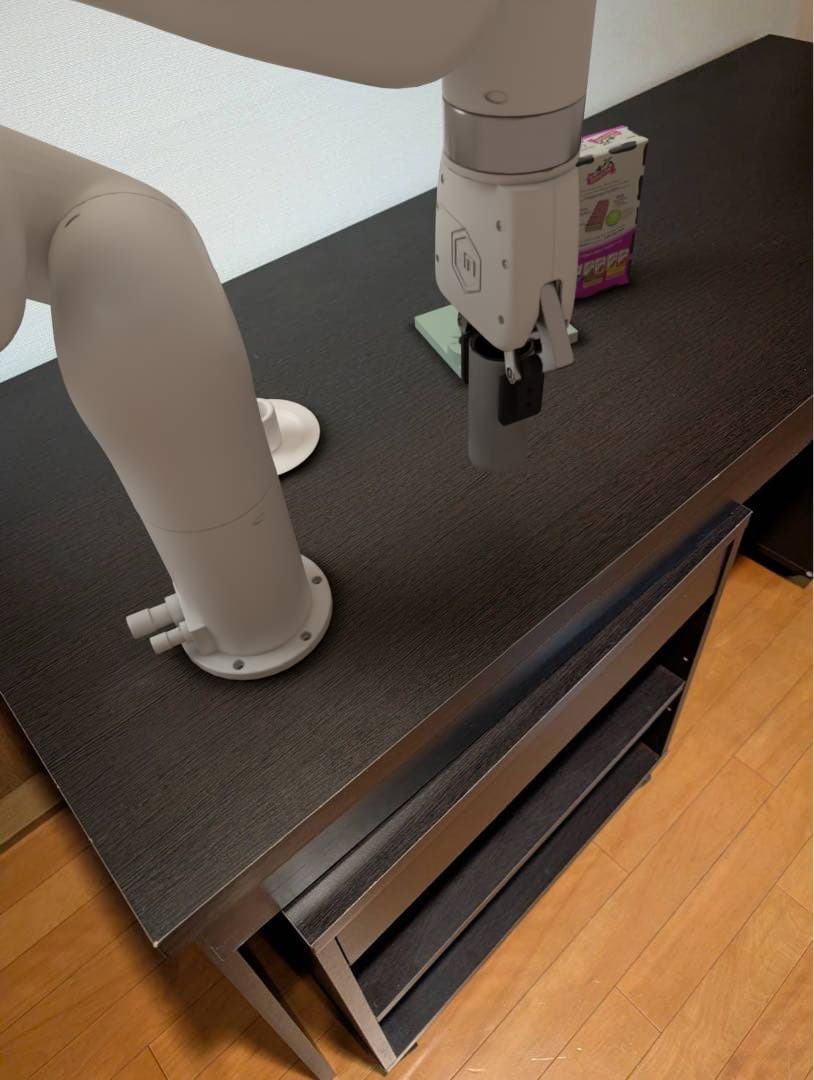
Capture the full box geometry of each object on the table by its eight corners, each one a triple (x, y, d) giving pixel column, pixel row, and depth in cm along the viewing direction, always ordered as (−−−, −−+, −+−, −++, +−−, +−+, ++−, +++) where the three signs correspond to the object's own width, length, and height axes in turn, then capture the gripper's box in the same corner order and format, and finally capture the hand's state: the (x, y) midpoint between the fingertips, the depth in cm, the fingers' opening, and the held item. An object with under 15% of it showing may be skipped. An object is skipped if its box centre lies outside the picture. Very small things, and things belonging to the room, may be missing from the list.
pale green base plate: (463, 385, 80) (462, 361, 78) (412, 328, 88) (411, 304, 85) (578, 343, 83) (581, 319, 81) (520, 291, 91) (521, 268, 89)
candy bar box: (605, 265, 93) (624, 122, 81) (629, 284, 90) (652, 138, 78) (525, 291, 91) (531, 148, 78) (547, 312, 88) (557, 166, 75)
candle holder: (189, 428, 79) (176, 394, 76) (298, 391, 81) (290, 358, 78) (219, 502, 71) (206, 468, 68) (338, 459, 74) (331, 425, 71)
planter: (523, 477, 57) (533, 363, 50) (464, 471, 58) (464, 358, 50) (529, 437, 60) (539, 324, 52) (472, 432, 61) (474, 320, 53)
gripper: (384, 95, 46) (403, 352, 59) (535, 206, 35) (515, 487, 49) (494, 69, 47) (487, 324, 61) (668, 168, 37) (613, 449, 51)
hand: (500, 394), depth 55 cm, fingers closed on planter, 4 cm apart
